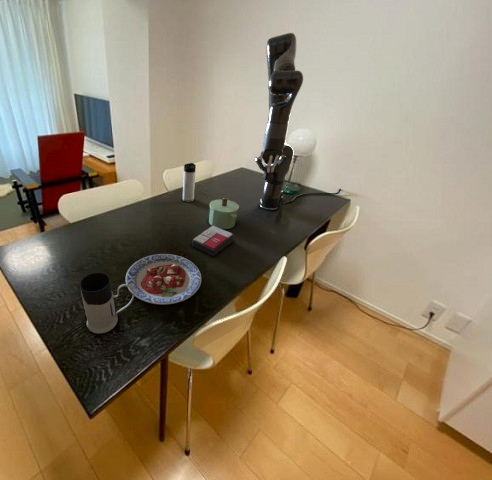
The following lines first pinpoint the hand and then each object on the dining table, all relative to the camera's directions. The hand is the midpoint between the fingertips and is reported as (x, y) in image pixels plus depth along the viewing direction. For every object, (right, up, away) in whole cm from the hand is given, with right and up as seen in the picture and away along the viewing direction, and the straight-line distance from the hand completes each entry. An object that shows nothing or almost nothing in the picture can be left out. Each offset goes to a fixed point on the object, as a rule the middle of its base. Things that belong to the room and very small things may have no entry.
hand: (266, 180), depth 106 cm
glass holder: (-55, -47, -29) cm, 78 cm away
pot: (-14, -15, +22) cm, 30 cm away
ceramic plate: (-41, -38, -14) cm, 58 cm away
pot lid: (-14, -8, +17) cm, 24 cm away
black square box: (-21, -25, +6) cm, 34 cm away
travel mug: (-30, -1, +44) cm, 53 cm away
